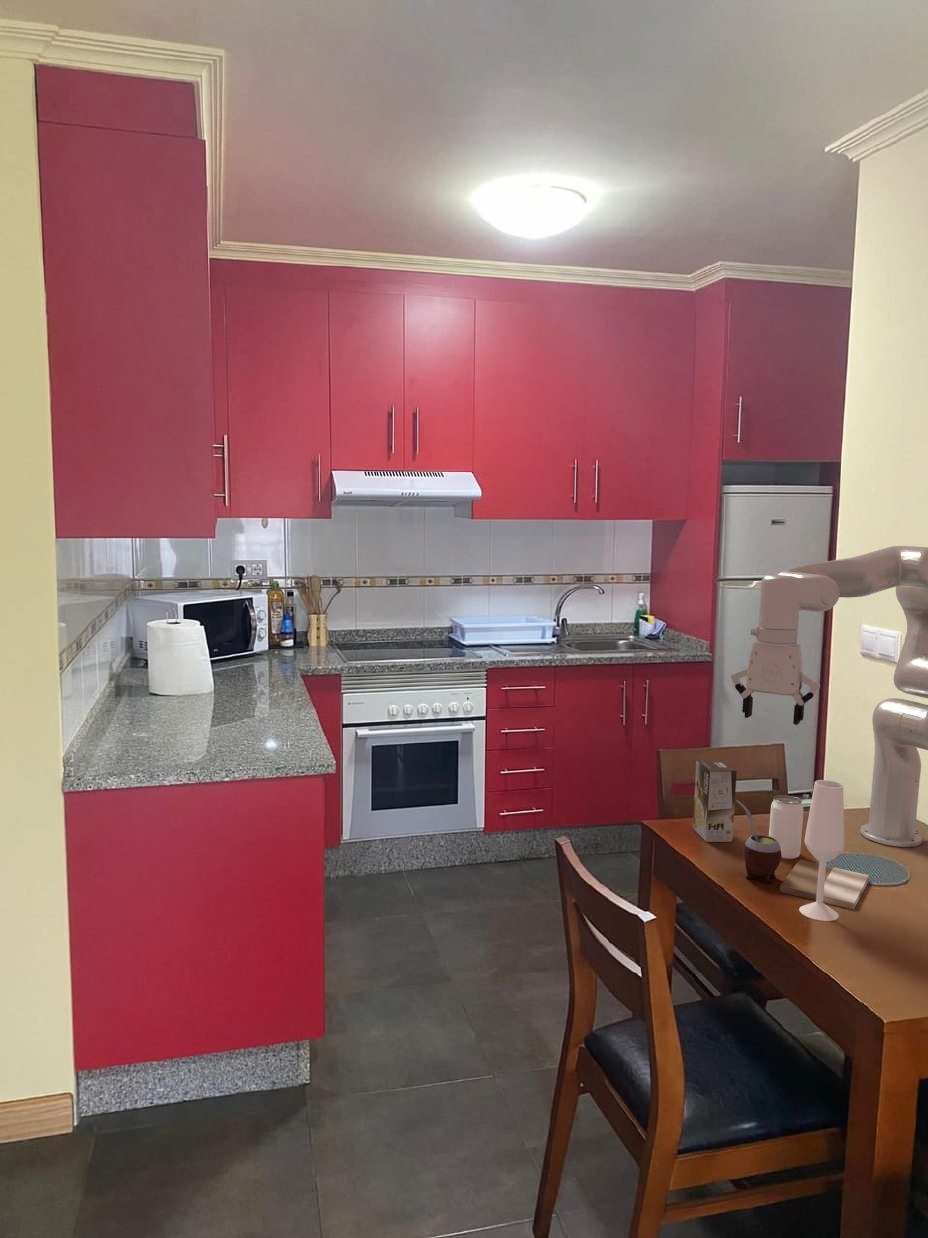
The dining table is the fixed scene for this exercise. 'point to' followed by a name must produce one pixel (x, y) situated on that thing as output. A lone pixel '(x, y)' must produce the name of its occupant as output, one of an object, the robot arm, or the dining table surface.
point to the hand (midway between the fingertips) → (772, 720)
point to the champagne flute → (824, 839)
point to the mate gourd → (761, 854)
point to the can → (787, 825)
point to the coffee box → (714, 800)
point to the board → (838, 884)
